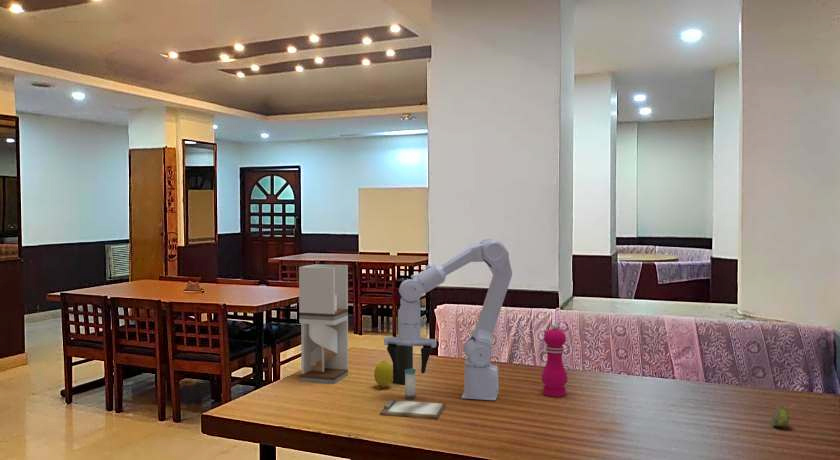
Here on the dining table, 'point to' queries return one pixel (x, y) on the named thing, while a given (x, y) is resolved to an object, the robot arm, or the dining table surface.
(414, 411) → the clipboard
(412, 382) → the marker
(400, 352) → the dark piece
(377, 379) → the lemon
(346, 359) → the white tiered tower model
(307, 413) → the dining table surface
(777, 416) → the lime
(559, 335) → the pepper mill
